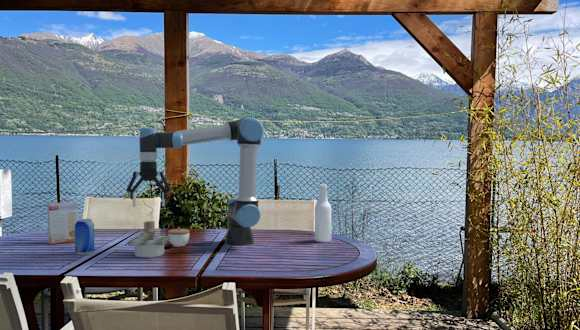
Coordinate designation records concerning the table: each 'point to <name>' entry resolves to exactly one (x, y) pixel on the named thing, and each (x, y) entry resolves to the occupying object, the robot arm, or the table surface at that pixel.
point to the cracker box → (62, 222)
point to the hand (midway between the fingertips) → (149, 206)
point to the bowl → (149, 250)
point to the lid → (149, 236)
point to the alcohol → (323, 216)
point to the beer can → (84, 237)
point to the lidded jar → (178, 237)
